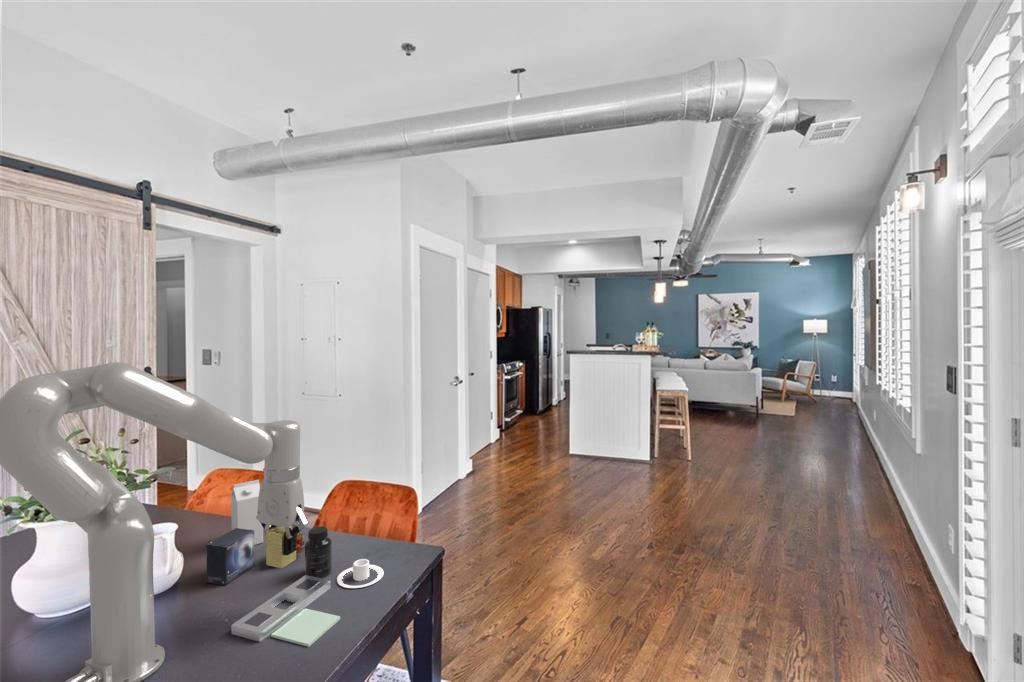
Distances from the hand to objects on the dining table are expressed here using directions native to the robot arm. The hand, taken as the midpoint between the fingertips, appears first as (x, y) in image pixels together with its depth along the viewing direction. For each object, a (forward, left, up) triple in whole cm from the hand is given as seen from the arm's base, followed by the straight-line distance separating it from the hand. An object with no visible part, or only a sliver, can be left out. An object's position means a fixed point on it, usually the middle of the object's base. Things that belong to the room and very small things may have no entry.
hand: (281, 550), depth 112 cm
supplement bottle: (+17, +4, -15) cm, 22 cm away
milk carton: (+25, +38, -15) cm, 47 cm away
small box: (+9, +26, -15) cm, 31 cm away
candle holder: (+19, -8, -15) cm, 25 cm away
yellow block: (0, 0, -3) cm, 3 cm away
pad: (-3, -10, -14) cm, 18 cm away
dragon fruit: (+20, +18, -15) cm, 30 cm away
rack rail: (+1, 0, -14) cm, 14 cm away
